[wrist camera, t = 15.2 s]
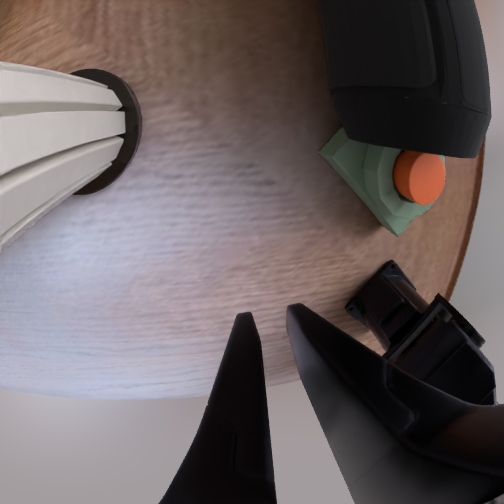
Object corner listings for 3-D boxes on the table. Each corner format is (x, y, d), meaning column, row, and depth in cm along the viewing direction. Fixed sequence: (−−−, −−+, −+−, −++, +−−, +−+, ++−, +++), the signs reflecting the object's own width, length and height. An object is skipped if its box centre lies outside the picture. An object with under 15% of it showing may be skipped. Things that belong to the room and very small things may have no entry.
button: (435, 172, 16) (451, 179, 15) (407, 207, 17) (423, 216, 16) (414, 135, 15) (431, 139, 13) (383, 171, 16) (400, 178, 14)
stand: (168, 111, 15) (154, 109, 10) (99, 213, 17) (68, 249, 12) (78, 51, 12) (38, 35, 7) (19, 154, 14) (-26, 172, 9)
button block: (430, 170, 20) (461, 183, 17) (383, 226, 22) (411, 247, 18) (376, 89, 16) (410, 89, 13) (317, 152, 18) (345, 162, 14)
